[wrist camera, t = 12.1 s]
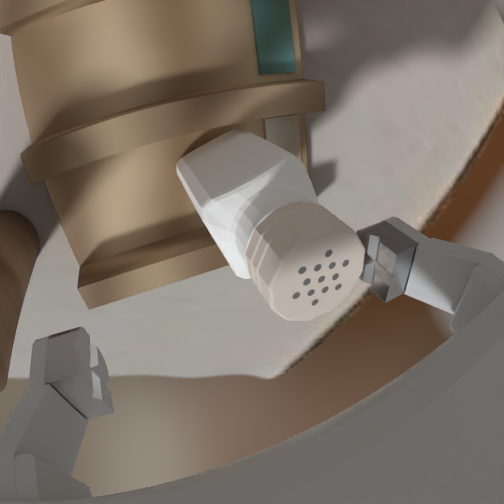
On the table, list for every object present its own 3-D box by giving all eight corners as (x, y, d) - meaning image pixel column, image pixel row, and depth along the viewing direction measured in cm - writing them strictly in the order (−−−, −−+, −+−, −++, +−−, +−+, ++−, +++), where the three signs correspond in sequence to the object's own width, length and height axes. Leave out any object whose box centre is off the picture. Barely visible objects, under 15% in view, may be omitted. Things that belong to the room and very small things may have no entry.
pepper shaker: (205, 220, 17) (282, 350, 10) (169, 160, 14) (229, 270, 7) (267, 183, 17) (381, 284, 10) (239, 121, 15) (367, 186, 7)
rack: (90, 276, 17) (89, 309, 15) (15, 13, 8) (-6, 3, 5) (300, 212, 20) (325, 233, 18) (281, -35, 11) (310, -50, 9)
